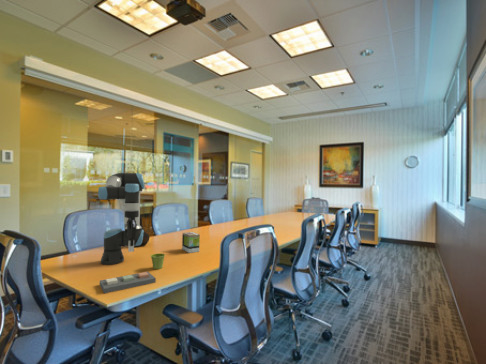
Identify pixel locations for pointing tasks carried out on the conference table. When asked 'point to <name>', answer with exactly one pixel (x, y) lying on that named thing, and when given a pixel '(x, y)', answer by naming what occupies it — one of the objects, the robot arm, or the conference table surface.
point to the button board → (126, 283)
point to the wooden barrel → (144, 234)
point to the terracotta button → (143, 275)
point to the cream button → (111, 281)
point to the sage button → (127, 278)
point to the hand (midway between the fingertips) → (131, 251)
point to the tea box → (190, 242)
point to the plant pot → (157, 260)
